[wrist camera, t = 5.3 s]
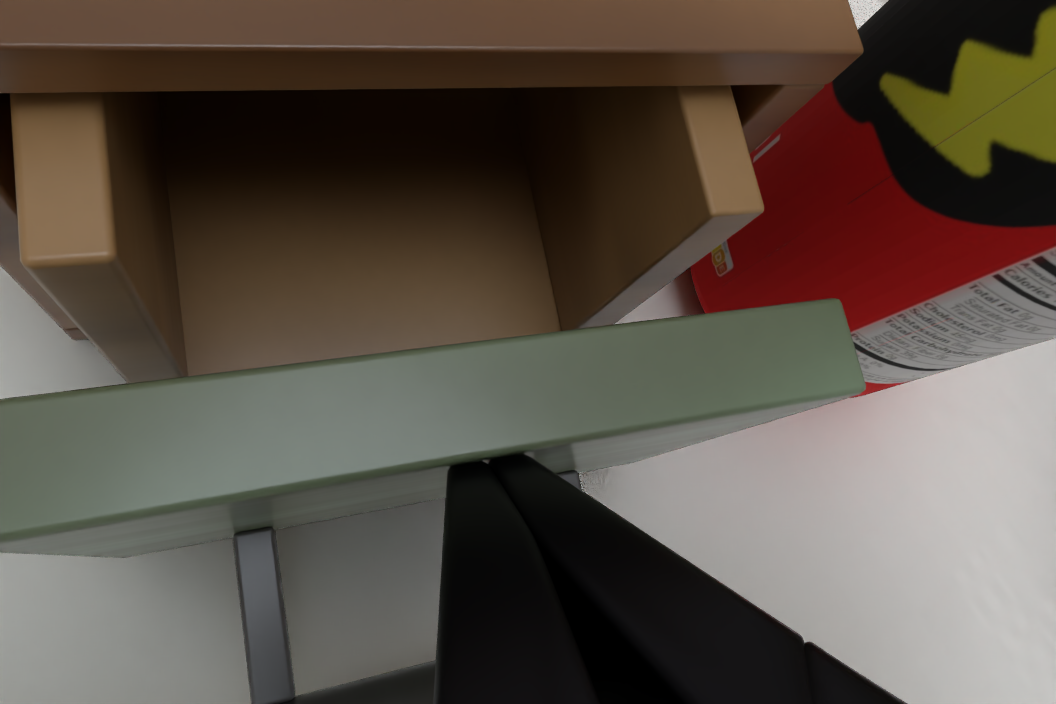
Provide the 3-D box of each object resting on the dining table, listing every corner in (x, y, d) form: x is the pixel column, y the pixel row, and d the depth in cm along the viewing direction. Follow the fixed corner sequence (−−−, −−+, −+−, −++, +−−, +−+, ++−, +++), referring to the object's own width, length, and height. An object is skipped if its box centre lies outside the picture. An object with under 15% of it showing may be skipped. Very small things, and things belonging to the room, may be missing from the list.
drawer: (681, 668, 14) (976, 746, 8) (140, 825, 11) (-40, 1133, 5) (532, 6, 17) (665, -304, 11) (71, -6, 14) (-96, -438, 8)
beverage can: (901, 206, 20) (1650, -235, 9) (890, 438, 18) (1835, 236, 7) (685, 125, 19) (1253, -511, 8) (647, 365, 17) (1339, -25, 6)
